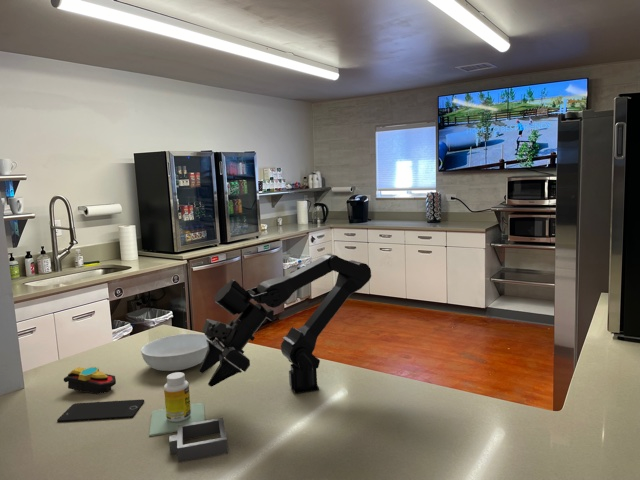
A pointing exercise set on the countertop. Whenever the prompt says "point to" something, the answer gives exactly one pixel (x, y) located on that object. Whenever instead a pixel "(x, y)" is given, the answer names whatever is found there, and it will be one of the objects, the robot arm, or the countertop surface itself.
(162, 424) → the mat
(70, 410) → the cell phone
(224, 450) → the collar
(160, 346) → the serving bowl
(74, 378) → the gadget
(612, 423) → the countertop surface
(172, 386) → the supplement bottle
